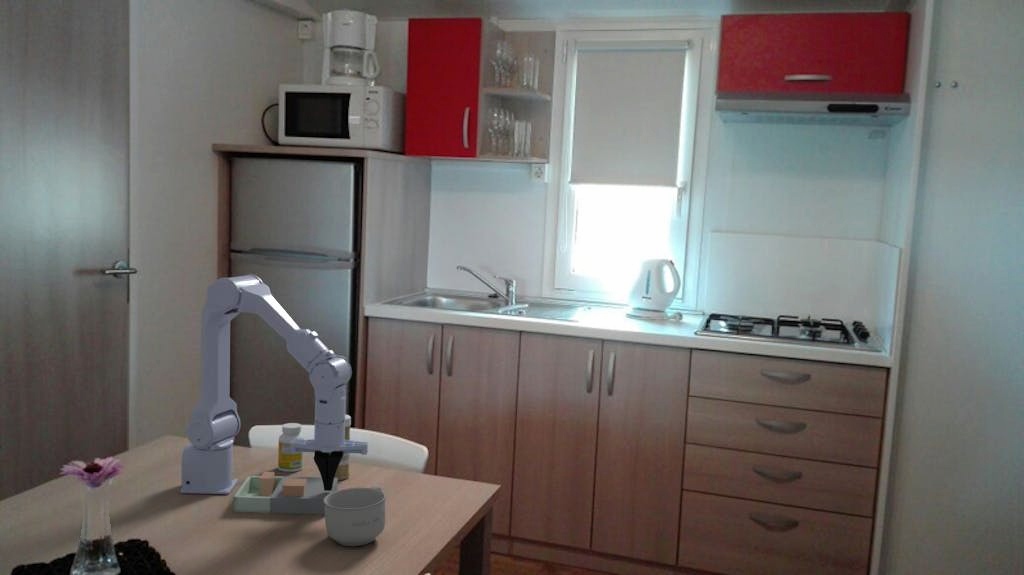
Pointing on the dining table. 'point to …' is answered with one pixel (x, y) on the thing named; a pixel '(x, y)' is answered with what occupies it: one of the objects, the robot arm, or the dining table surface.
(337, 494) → the teacup
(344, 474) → the sprinkles bottle
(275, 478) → the tray
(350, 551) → the dining table surface
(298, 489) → the tile
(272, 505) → the slate board
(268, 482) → the tile
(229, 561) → the dining table surface
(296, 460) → the supplement bottle
